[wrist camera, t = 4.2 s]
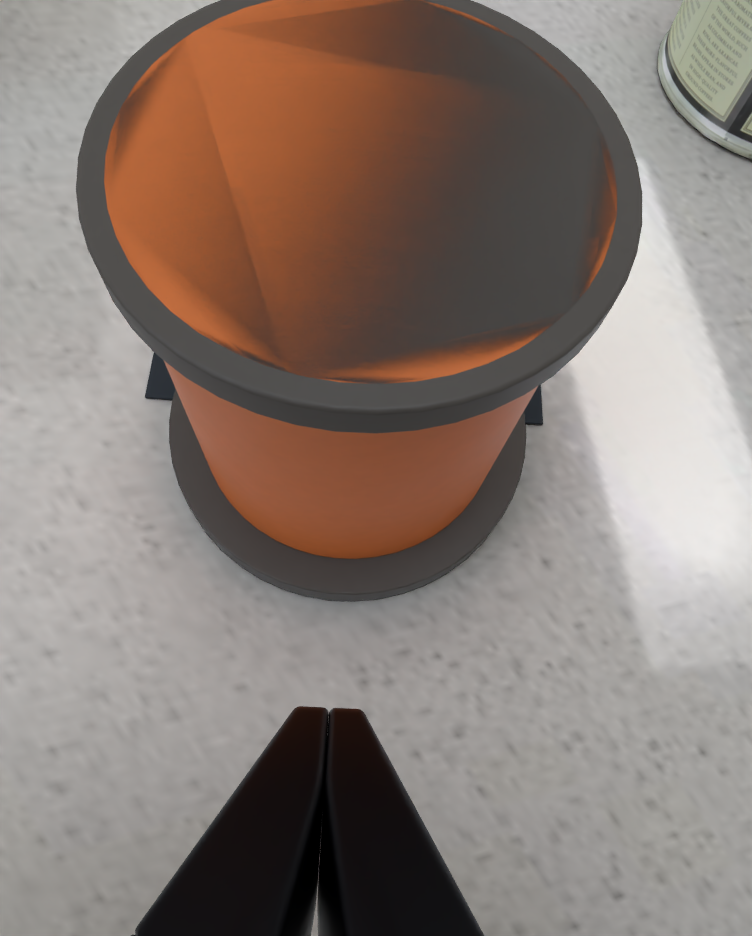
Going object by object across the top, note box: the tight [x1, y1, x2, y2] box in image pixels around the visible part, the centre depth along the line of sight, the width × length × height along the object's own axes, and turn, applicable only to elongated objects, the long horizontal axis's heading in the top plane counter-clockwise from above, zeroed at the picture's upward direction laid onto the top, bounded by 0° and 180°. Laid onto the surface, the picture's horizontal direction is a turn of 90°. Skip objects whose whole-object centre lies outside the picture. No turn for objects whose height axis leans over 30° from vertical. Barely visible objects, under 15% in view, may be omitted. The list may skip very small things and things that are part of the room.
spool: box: [76, 0, 642, 601], centre depth 17 cm, size 11×11×11 cm
